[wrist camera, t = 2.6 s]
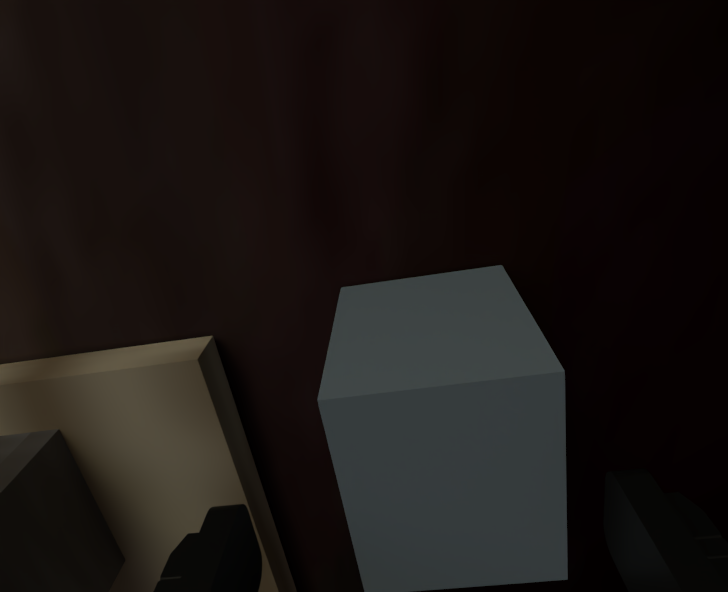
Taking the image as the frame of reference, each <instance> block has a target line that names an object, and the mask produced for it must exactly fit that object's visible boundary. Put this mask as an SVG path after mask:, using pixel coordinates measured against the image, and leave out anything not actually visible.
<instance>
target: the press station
mask: <svg viewBox="0 0 728 592" xmlns="http://www.w3.org/2000/svg"><path fill="white" fill-rule="evenodd" d="M236 504H245V505H246V507H247V509H248V512H249V515H250V518H251V521H252V524H253V527H254V531H255V534H256V537H257V540H258V543H259V547H260V550H261V555H262V577H261V582H260V587H259V591H258V592H297V590H296V587H295V584H294V581H293V578H292V575H291V572H290V569H289V566H288V563H287V560H286V557H285V554H284V551H283V548H282V545H281V542H280V539H279V536H278V532H277V529H276V526H275V523H274V520H273V517H272V514H271V511H270V508H269V505H268V502H267V499H266V496H265V493H264V490H263V487H262V484H261V481H260V478H259V475H258V472H257V469H256V466H255V462H254V459H253V456H252V453H251V450H250V447H249V444H248V441H247V438H246V435H245V432H244V429H243V426H242V423H241V420H240V417H239V414H238V411H237V408H236V405H235V402H234V399H233V396H232V393H231V389H230V386H229V383H228V380H227V377H226V374H225V371H224V368H223V365H222V362H221V359H220V356H219V353H218V350H217V347H216V344H215V341H214V338H213V336H207V337H200V338H192V339H185V340H177V341H170V342H163V343H155V344H148V345H141V346H133V347H126V348H119V349H111V350H104V351H97V352H89V353H82V354H75V355H67V356H60V357H53V358H45V359H38V360H30V361H23V362H16V363H8V364H1V365H0V592H153V591H154V589H155V587H156V585H157V582H158V581H160V576H161V574H162V571H163V569H164V567H165V565H166V562H167V560H168V558H169V556H170V554H171V553H172V551H173V550H174V549H175V548H176V547H177V546H178V544H179V543H180V542H181V541H182V540H183V539H184V537H185V536H186V535H187V534H188V533H199V531H200V529H201V527H202V524H203V522H204V519H205V517H206V514H207V512H208V510H209V509H210V508H211V507H215V506H226V505H236Z"/></svg>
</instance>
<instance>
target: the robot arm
mask: <svg viewBox="0 0 728 592" xmlns="http://www.w3.org/2000/svg"><path fill="white" fill-rule="evenodd" d="M603 525H604V533H605V538H606V542H607V546H608V549H609V551H610V554H611V556H612V558H613V560H614V563H615V565H616V567H617V569H618V571H619V573H620V575H621V577H622V579H623V581H624V583H625V585H626V587H627V590H628V592H728V543H727V541H726V540H725V539H723V538H722V537H721V533H720V532H719V531H718V529H717V528H716V527H715V525H714V524H713V523H712V521H711V520H710V519H709V517H708V516H707V515H706V513H705V512H704V511H703V510H702V509H701V508H699V507H698V506H697V505H695V504H694V503H692V502H691V501H690V500H688V499H687V498H686V497H684V496H683V495H682V494H680V493H679V492H674V493H663V492H662V490H661V489H660V487H659V486H658V484H657V483H656V481H655V480H654V478H653V477H652V476H651V474H650V473H649V472H648V471H647V470H646V469H633V470H622V471H611V472H607V473H606V476H605V496H604V521H603ZM261 577H262V555H261V550H260V547H259V543H258V540H257V537H256V534H255V531H254V527H253V524H252V521H251V518H250V515H249V512H248V509H247V507H246V505H245V504H236V505H226V506H215V507H211V508H210V509H209V510H208V512H207V514H206V517H205V519H204V522H203V524H202V527H201V529H200V531H199V533H188V534H187V535H186V536H185V537H184V539H183V540H182V541H181V542H180V543H179V544H178V546H177V547H176V548H175V549H174V550H173V551H172V553H171V554H170V556H169V558H168V560H167V562H166V565H165V567H164V569H163V571H162V574H161V576H160V581H158V582H157V585H156V587H155V589H154V591H153V592H258V591H259V587H260V582H261Z"/></svg>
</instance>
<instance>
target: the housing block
mask: <svg viewBox="0 0 728 592" xmlns="http://www.w3.org/2000/svg"><path fill="white" fill-rule="evenodd" d="M317 401H318V405H319V409H320V413H321V417H322V421H323V425H324V429H325V433H326V437H327V441H328V445H329V449H330V453H331V457H332V462H333V466H334V470H335V474H336V478H337V482H338V486H339V490H340V494H341V498H342V502H343V506H344V510H345V514H346V518H347V522H348V526H349V531H350V535H351V539H352V543H353V547H354V551H355V555H356V559H357V563H358V567H359V571H360V575H361V579H362V583H363V587H364V591H365V592H411V591H424V590H437V589H451V588H464V587H477V586H490V585H503V584H516V583H529V582H542V581H555V580H568V572H567V497H566V421H565V371H564V369H563V367H562V366H561V364H560V362H559V361H558V359H557V357H556V356H555V354H554V352H553V351H552V349H551V347H550V345H549V344H548V342H547V340H546V339H545V337H544V335H543V334H542V332H541V330H540V329H539V327H538V325H537V324H536V322H535V320H534V318H533V317H532V315H531V313H530V312H529V310H528V308H527V307H526V305H525V303H524V302H523V300H522V298H521V297H520V295H519V293H518V291H517V290H516V288H515V286H514V285H513V283H512V281H511V280H510V278H509V276H508V275H507V273H506V271H505V270H504V268H503V266H502V265H498V266H491V267H484V268H477V269H470V270H463V271H456V272H448V273H441V274H434V275H427V276H420V277H413V278H406V279H399V280H392V281H385V282H377V283H370V284H363V285H356V286H349V287H342V288H341V290H340V295H339V300H338V305H337V309H336V314H335V319H334V324H333V329H332V333H331V338H330V343H329V348H328V352H327V357H326V362H325V367H324V372H323V376H322V381H321V386H320V391H319V396H318V400H317Z"/></svg>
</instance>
